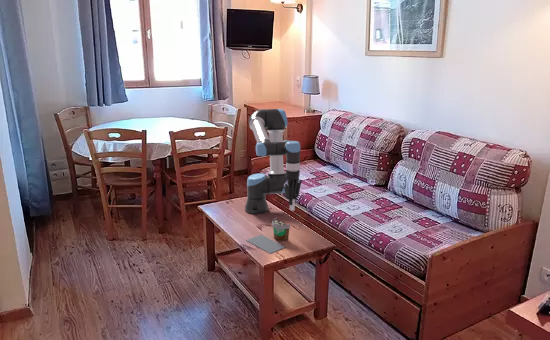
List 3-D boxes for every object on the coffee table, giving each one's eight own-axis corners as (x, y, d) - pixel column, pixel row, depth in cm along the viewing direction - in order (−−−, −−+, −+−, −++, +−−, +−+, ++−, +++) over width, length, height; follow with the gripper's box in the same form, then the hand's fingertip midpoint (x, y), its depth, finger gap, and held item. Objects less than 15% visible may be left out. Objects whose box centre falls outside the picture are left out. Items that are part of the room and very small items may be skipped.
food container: (267, 236, 245) (267, 220, 242) (275, 233, 248) (275, 217, 245) (281, 244, 236) (281, 227, 233) (290, 241, 239) (290, 224, 236)
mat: (261, 235, 247) (261, 234, 246) (285, 247, 232) (285, 246, 232) (246, 240, 239) (246, 240, 239) (270, 253, 225) (270, 253, 225)
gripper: (296, 166, 244) (295, 205, 251) (279, 170, 236) (279, 210, 242) (306, 168, 239) (305, 209, 245) (288, 173, 230) (288, 214, 237)
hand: (292, 209), depth 244 cm, fingers closed
